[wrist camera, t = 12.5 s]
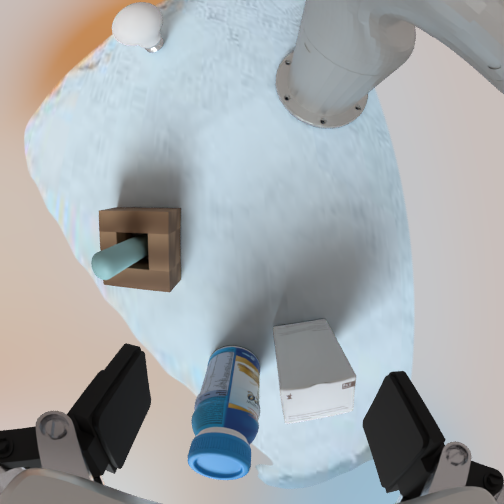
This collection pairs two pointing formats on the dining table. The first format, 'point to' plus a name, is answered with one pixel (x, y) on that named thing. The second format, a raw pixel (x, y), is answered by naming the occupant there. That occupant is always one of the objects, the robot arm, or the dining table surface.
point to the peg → (119, 256)
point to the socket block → (159, 245)
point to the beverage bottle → (226, 415)
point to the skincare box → (312, 372)
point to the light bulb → (139, 26)
